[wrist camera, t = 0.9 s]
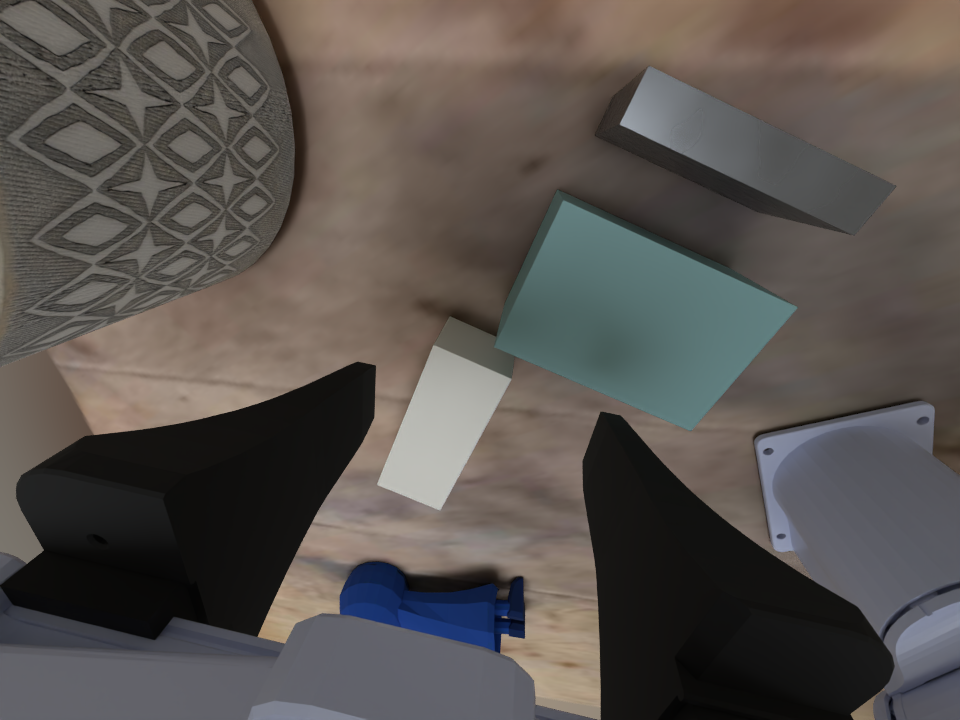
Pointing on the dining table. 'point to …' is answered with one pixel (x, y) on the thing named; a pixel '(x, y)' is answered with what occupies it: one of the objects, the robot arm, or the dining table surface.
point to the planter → (132, 158)
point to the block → (634, 313)
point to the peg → (447, 413)
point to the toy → (434, 607)
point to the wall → (739, 155)
